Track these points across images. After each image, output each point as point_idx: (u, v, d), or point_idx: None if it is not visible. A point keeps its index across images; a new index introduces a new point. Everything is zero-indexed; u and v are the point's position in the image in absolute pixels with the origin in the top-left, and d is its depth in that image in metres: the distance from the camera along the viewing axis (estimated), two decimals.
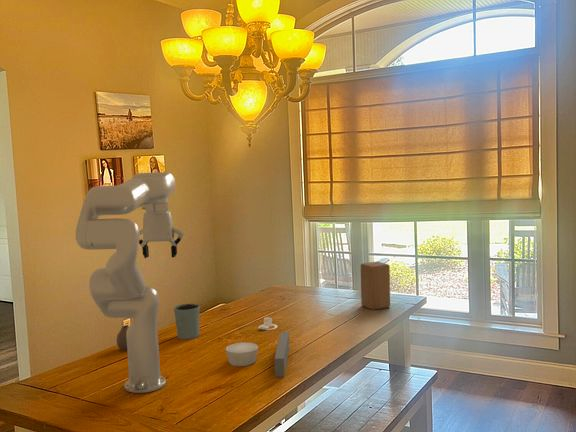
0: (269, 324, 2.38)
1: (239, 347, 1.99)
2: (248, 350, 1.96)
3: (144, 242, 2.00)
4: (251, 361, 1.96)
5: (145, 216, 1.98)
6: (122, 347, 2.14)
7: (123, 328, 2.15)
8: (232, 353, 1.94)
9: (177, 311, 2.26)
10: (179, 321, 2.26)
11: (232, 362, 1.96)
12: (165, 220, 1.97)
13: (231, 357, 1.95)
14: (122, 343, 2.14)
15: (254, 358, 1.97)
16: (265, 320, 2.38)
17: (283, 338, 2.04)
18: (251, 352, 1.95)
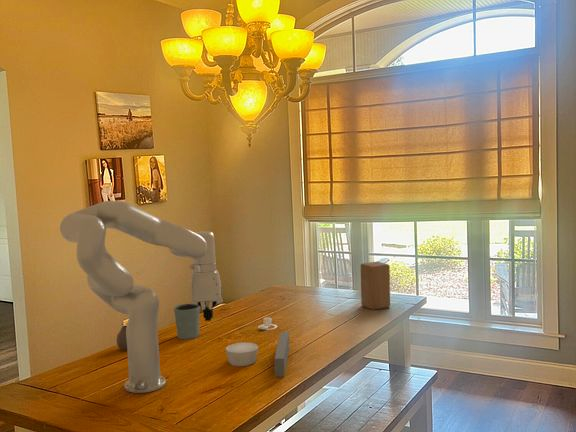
0: (269, 324, 2.38)
1: (239, 347, 1.99)
2: (248, 350, 1.96)
3: (202, 304, 1.97)
4: (251, 361, 1.96)
5: (193, 276, 1.95)
6: (122, 347, 2.14)
7: (123, 328, 2.15)
8: (232, 353, 1.94)
9: (177, 311, 2.26)
10: (179, 321, 2.26)
11: (232, 362, 1.96)
12: (214, 281, 1.95)
13: (231, 357, 1.95)
14: (122, 343, 2.14)
15: (254, 358, 1.97)
16: (265, 320, 2.38)
17: (283, 338, 2.04)
18: (251, 352, 1.95)
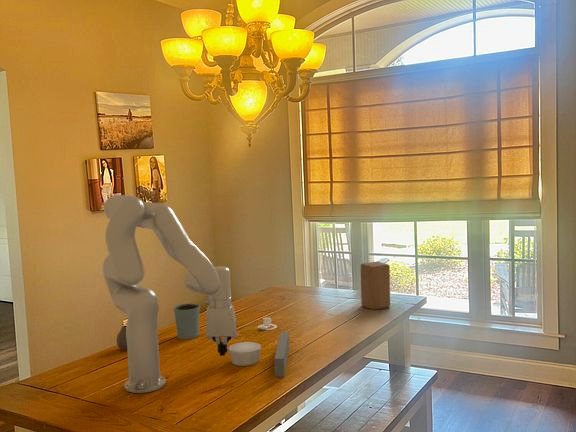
0: (268, 324, 2.38)
1: (242, 347, 1.99)
2: (251, 350, 1.96)
3: (217, 339, 1.98)
4: (254, 360, 1.96)
5: (209, 311, 1.96)
6: (122, 347, 2.14)
7: (123, 328, 2.15)
8: (235, 353, 1.94)
9: (177, 311, 2.26)
10: (179, 321, 2.26)
11: (235, 362, 1.96)
12: (229, 316, 1.96)
13: (234, 357, 1.95)
14: (122, 343, 2.14)
15: (257, 357, 1.97)
16: (264, 320, 2.38)
17: (283, 338, 2.04)
18: (254, 351, 1.95)
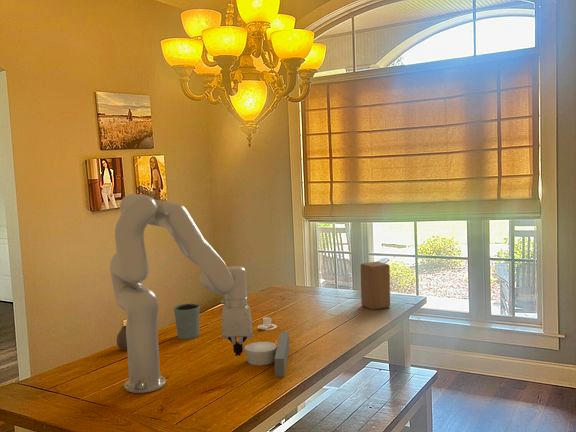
0: (268, 324, 2.38)
1: (258, 347, 1.98)
2: (267, 349, 1.95)
3: (233, 339, 1.98)
4: (270, 360, 1.96)
5: (225, 311, 1.96)
6: (122, 347, 2.14)
7: (123, 328, 2.15)
8: (252, 352, 1.94)
9: (177, 311, 2.26)
10: (179, 321, 2.26)
11: (251, 361, 1.95)
12: (245, 316, 1.95)
13: (250, 357, 1.95)
14: (122, 343, 2.14)
15: (273, 357, 1.97)
16: (264, 320, 2.38)
17: (283, 338, 2.04)
18: (271, 351, 1.95)
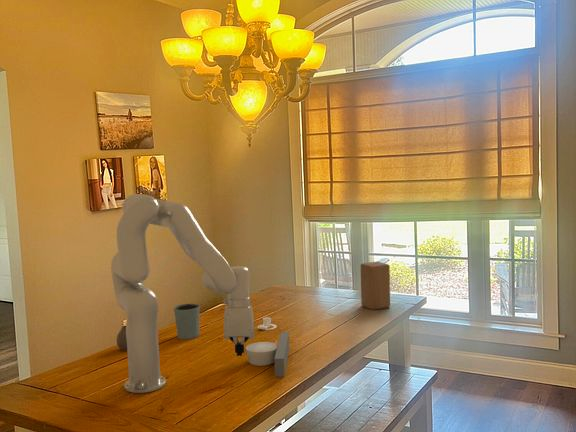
0: (268, 324, 2.38)
1: (259, 347, 1.98)
2: (269, 349, 1.95)
3: (234, 339, 1.97)
4: (272, 360, 1.96)
5: (227, 311, 1.96)
6: (122, 347, 2.14)
7: (123, 328, 2.15)
8: (253, 353, 1.94)
9: (177, 311, 2.26)
10: (179, 321, 2.26)
11: (253, 362, 1.95)
12: (248, 316, 1.95)
13: (252, 357, 1.95)
14: (122, 343, 2.14)
15: (274, 357, 1.97)
16: (264, 320, 2.38)
17: (283, 338, 2.04)
18: (272, 351, 1.95)
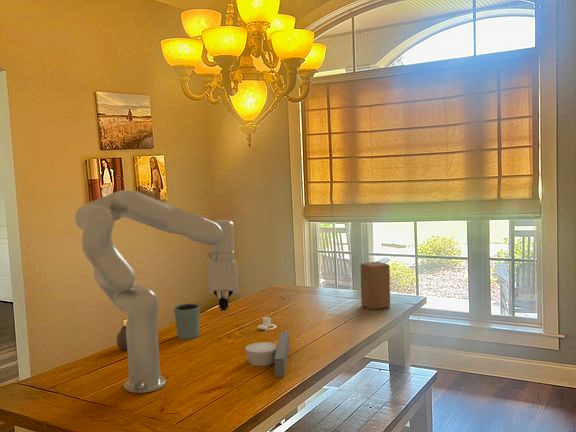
0: (268, 324, 2.38)
1: (259, 347, 1.98)
2: (269, 350, 1.95)
3: (218, 293, 1.96)
4: (272, 360, 1.96)
5: (211, 264, 1.94)
6: (122, 347, 2.14)
7: (123, 328, 2.15)
8: (253, 353, 1.94)
9: (177, 311, 2.26)
10: (179, 321, 2.26)
11: (253, 362, 1.95)
12: (232, 269, 1.94)
13: (251, 357, 1.95)
14: (122, 343, 2.14)
15: (274, 357, 1.97)
16: (264, 320, 2.38)
17: (283, 338, 2.04)
18: (272, 351, 1.95)
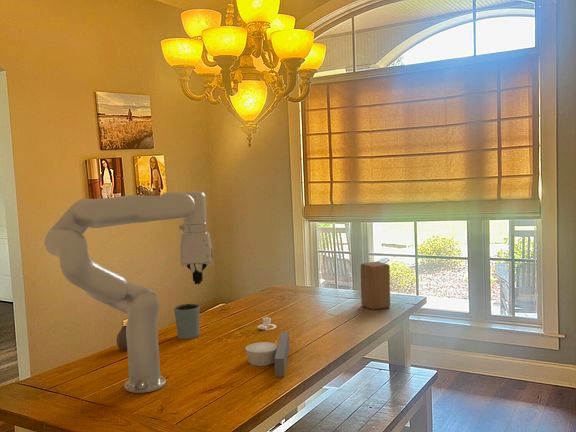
0: (268, 324, 2.38)
1: (259, 347, 1.98)
2: (269, 350, 1.95)
3: (192, 267, 1.91)
4: (272, 360, 1.96)
5: (183, 237, 1.89)
6: (122, 347, 2.14)
7: (123, 328, 2.15)
8: (253, 353, 1.94)
9: (177, 311, 2.26)
10: (179, 321, 2.26)
11: (253, 362, 1.95)
12: (204, 242, 1.88)
13: (251, 357, 1.95)
14: (122, 343, 2.14)
15: (274, 357, 1.97)
16: (264, 320, 2.38)
17: (283, 338, 2.04)
18: (272, 351, 1.95)
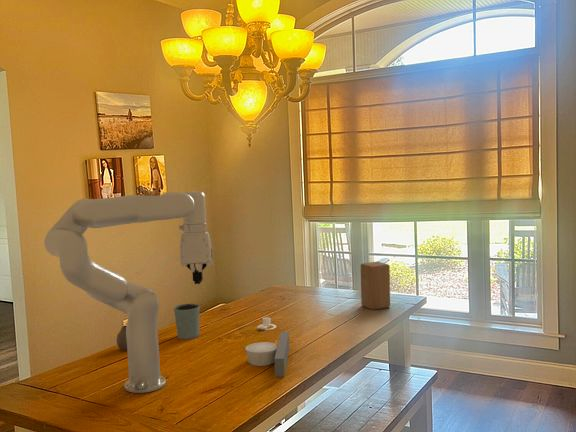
0: (268, 324, 2.38)
1: (259, 347, 1.98)
2: (269, 350, 1.95)
3: (192, 267, 1.91)
4: (272, 360, 1.96)
5: (183, 237, 1.89)
6: (122, 347, 2.14)
7: (123, 328, 2.15)
8: (253, 353, 1.94)
9: (177, 311, 2.26)
10: (179, 321, 2.26)
11: (253, 362, 1.95)
12: (204, 242, 1.88)
13: (251, 357, 1.95)
14: (122, 343, 2.14)
15: (274, 357, 1.97)
16: (264, 320, 2.38)
17: (283, 338, 2.04)
18: (272, 351, 1.95)
